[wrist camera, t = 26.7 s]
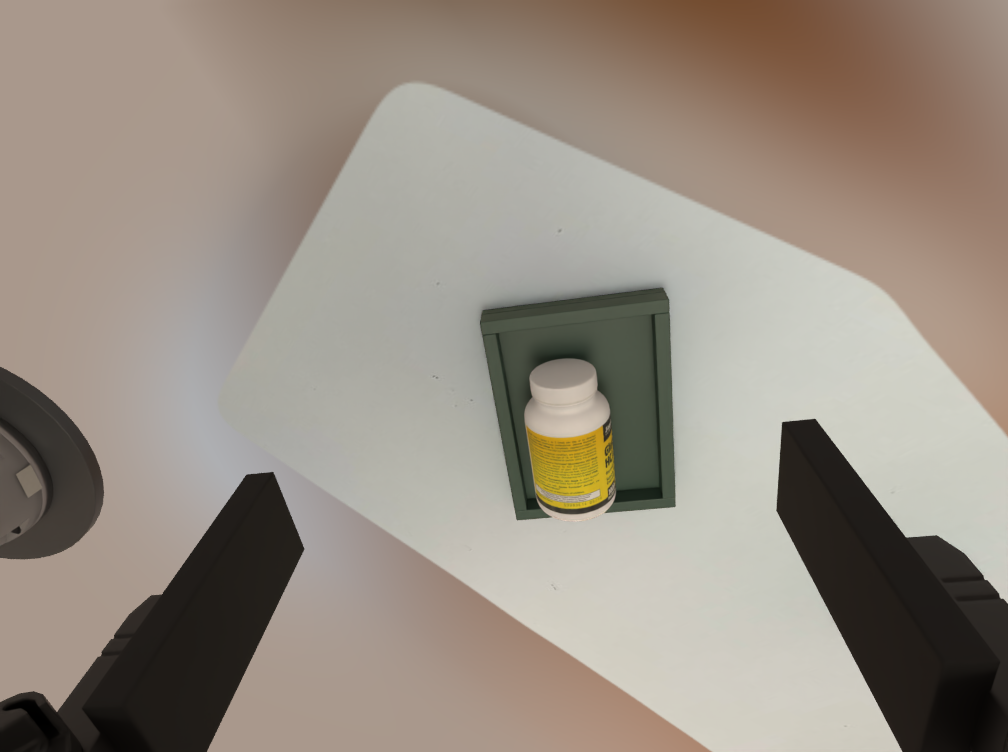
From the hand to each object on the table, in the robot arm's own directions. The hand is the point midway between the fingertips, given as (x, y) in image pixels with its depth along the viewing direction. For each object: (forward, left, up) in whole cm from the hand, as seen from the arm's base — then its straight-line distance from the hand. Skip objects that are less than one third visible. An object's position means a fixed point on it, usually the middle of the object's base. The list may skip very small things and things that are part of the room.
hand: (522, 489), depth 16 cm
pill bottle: (+5, -20, -25) cm, 32 cm away
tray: (+5, -14, -29) cm, 32 cm away
